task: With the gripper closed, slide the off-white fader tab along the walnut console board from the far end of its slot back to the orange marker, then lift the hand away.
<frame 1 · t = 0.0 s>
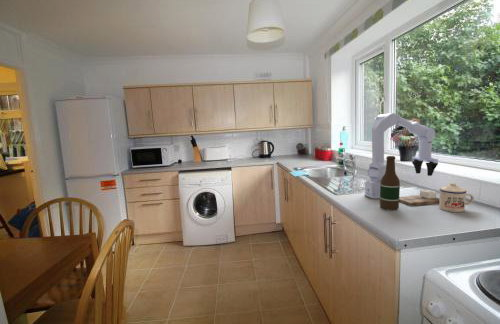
hand: (423, 174, 136), 10 cm above the worktop, tool pointing down, fingers open, 7 cm apart
beer bottle: (389, 208, 113), on the worktop
console board: (418, 201, 121), on the worktop
teacup with lid: (455, 209, 108), on the worktop
fader tab: (427, 193, 122), point 3 cm above the worktop, slide at 5.0 cm
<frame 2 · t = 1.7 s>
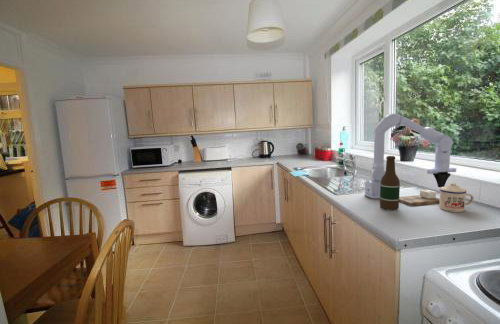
hand: (440, 187, 122), 6 cm above the worktop, tool pointing down, fingers closed
nothing on the worktop moved.
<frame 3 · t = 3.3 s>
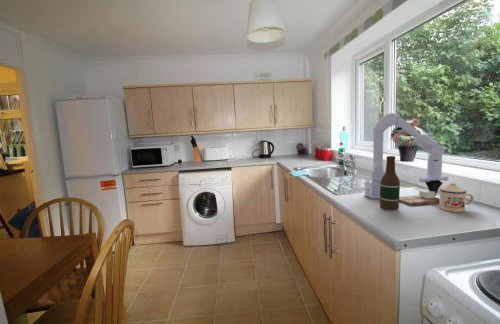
hand: (432, 195, 122), 2 cm above the worktop, tool pointing down, fingers closed
fader tab: (427, 193, 122), point 3 cm above the worktop, slide at 4.6 cm, touching gripper
everything else where it was.
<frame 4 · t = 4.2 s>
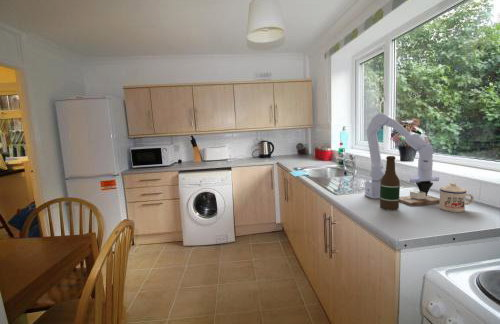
hand: (423, 196, 121), 2 cm above the worktop, tool pointing down, fingers closed
fader tab: (417, 194, 121), point 3 cm above the worktop, slide at -0.6 cm, touching gripper
everything else where it was.
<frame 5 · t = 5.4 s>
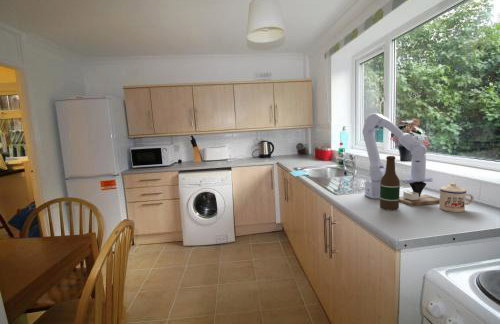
hand: (416, 196, 121), 2 cm above the worktop, tool pointing down, fingers closed
fader tab: (410, 195, 120), point 3 cm above the worktop, slide at -4.4 cm, touching gripper
everything else where it was.
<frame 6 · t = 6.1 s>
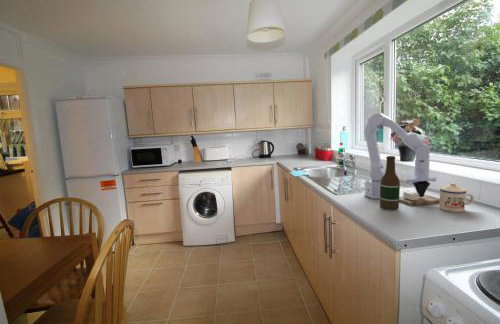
hand: (420, 196, 121), 2 cm above the worktop, tool pointing down, fingers closed
fader tab: (410, 195, 120), point 3 cm above the worktop, slide at -4.4 cm
everything else where it was.
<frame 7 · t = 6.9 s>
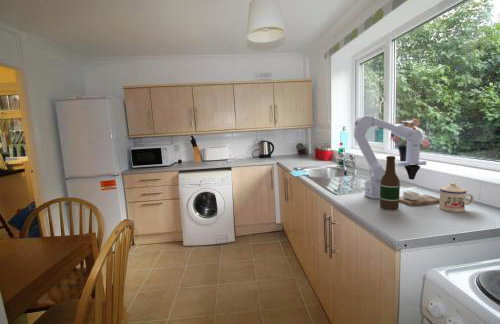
hand: (411, 179, 129), 9 cm above the worktop, tool pointing down, fingers closed
nothing on the worktop moved.
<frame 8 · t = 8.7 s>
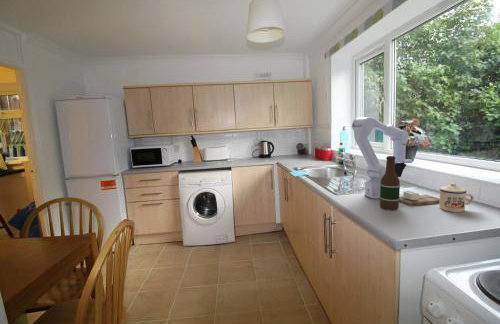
hand: (398, 176, 136), 9 cm above the worktop, tool pointing down, fingers closed
nothing on the worktop moved.
at the end: fader tab slide at -4.4 cm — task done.
